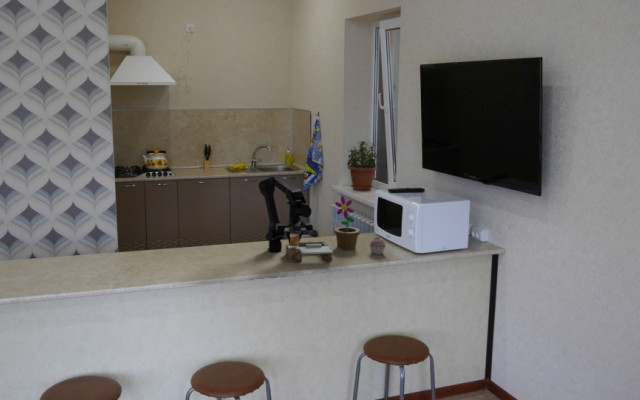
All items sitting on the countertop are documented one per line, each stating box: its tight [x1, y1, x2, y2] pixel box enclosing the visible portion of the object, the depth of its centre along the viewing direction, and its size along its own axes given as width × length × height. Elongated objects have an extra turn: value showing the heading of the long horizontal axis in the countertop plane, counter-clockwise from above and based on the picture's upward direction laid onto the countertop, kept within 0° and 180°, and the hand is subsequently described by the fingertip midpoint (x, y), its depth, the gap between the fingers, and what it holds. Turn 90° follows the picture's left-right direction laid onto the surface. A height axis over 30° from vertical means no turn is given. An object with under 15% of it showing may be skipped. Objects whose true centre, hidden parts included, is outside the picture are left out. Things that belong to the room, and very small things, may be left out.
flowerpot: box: [333, 195, 361, 251], centre depth 327 cm, size 14×14×30 cm
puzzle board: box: [285, 240, 333, 263], centre depth 311 cm, size 22×18×6 cm
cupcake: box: [368, 235, 387, 256], centre depth 320 cm, size 9×9×10 cm
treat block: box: [288, 234, 299, 246], centre depth 306 cm, size 4×4×5 cm
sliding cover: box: [298, 244, 334, 255], centre depth 301 cm, size 16×10×2 cm, turn 103°
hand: (293, 242), depth 306 cm, fingers closed on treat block, 4 cm apart
